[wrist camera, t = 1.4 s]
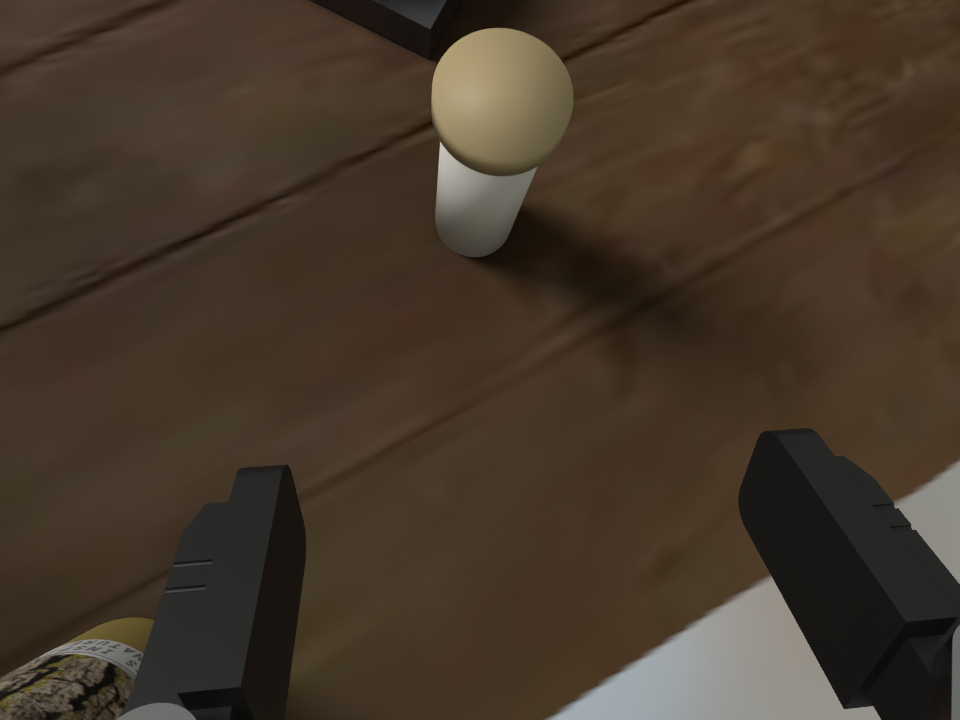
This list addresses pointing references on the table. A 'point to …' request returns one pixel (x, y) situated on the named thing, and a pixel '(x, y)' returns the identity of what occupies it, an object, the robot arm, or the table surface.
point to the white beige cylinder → (493, 132)
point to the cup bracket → (401, 19)
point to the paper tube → (79, 675)
